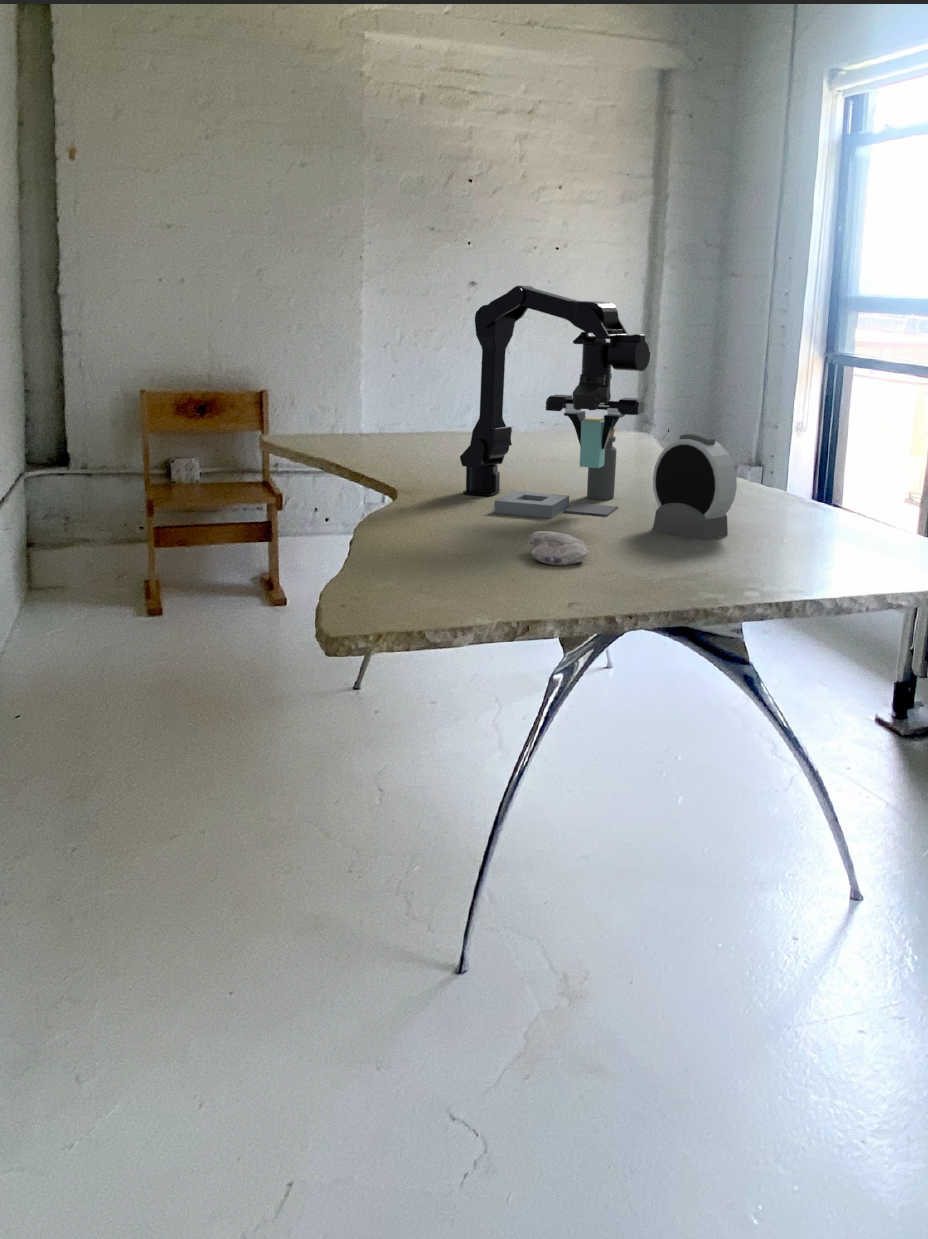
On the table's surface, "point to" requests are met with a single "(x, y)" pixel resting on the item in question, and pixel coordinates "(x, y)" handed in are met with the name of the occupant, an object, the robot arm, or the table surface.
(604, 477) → the bottle
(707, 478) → the alarm clock
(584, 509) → the pad
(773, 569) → the table surface
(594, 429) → the plug
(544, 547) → the fossil
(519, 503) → the grey square socket block
